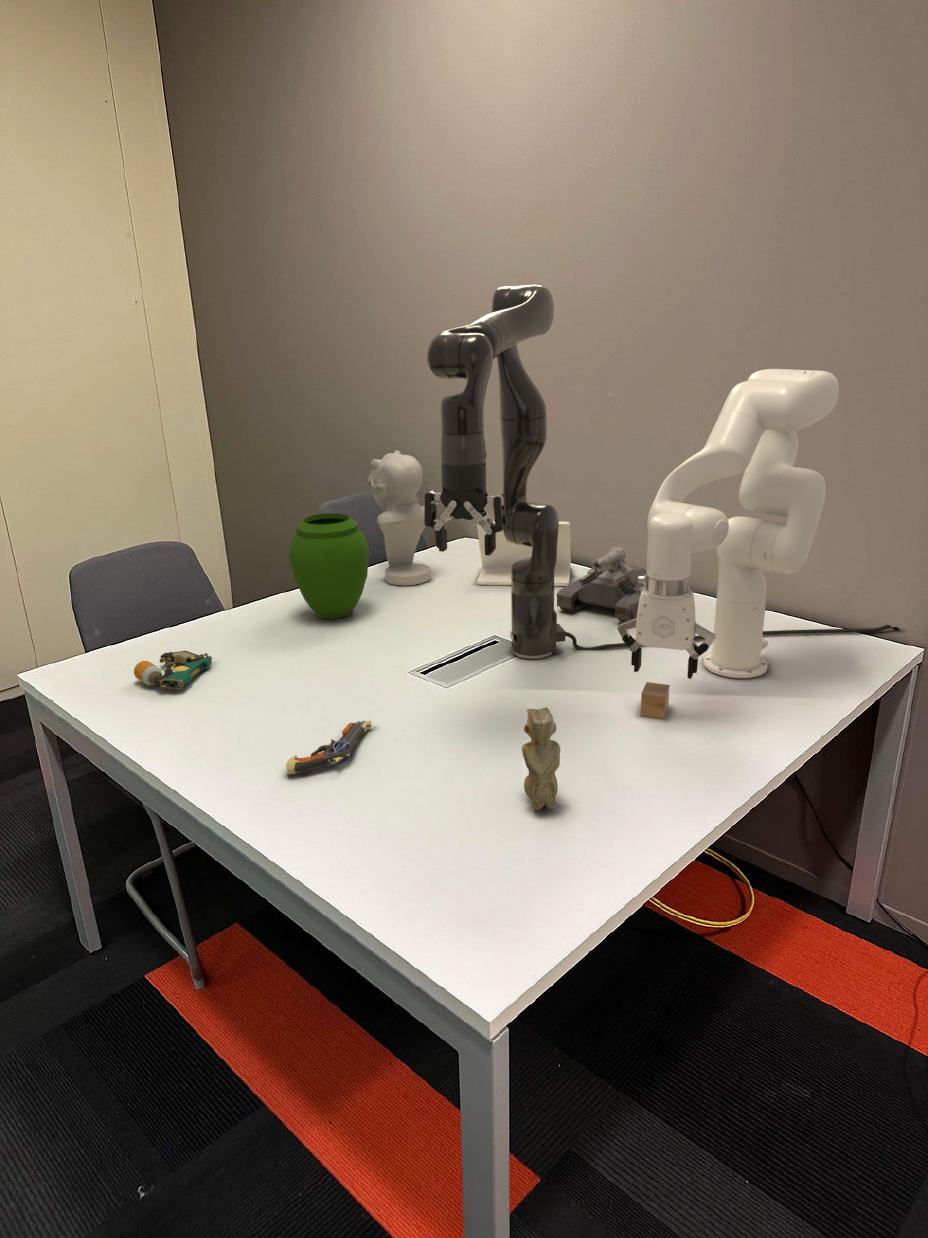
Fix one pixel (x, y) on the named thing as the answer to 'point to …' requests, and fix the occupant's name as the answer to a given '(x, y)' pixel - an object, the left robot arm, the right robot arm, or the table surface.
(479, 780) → the table surface
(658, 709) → the brown wooden block
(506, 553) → the tablet stand
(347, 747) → the toy gun
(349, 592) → the vase
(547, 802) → the sculpture
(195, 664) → the spray gun
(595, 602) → the toy
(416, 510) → the bust sculpture
